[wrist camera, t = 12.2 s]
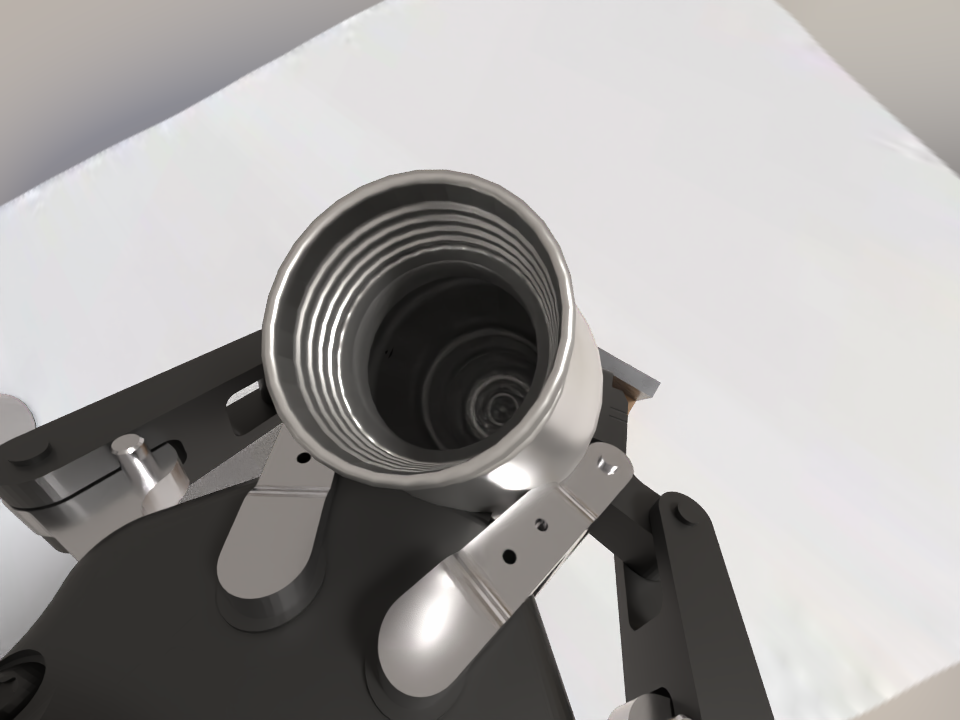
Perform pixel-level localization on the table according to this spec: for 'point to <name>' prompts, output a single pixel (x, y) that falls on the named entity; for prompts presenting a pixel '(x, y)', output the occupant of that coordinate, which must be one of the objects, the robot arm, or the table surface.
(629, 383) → the rail
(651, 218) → the table surface
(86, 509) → the robot arm
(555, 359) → the silver bottle
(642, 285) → the table surface
